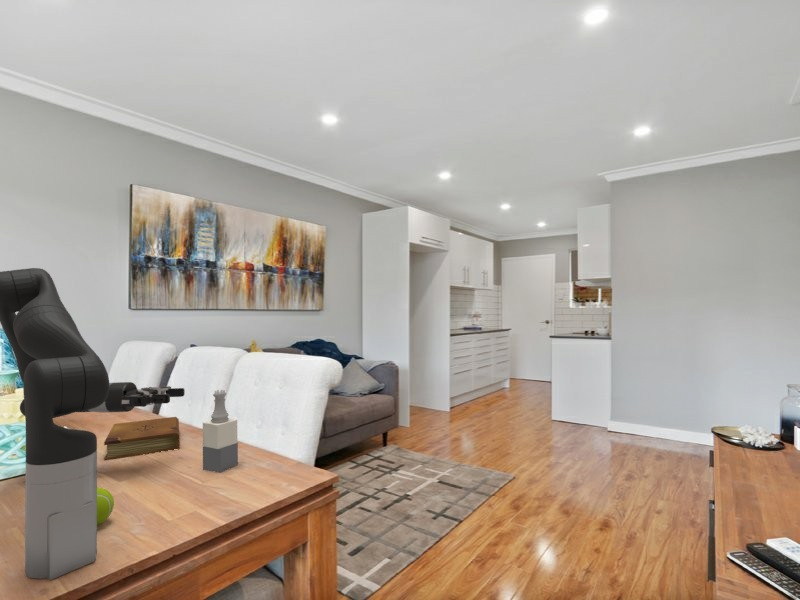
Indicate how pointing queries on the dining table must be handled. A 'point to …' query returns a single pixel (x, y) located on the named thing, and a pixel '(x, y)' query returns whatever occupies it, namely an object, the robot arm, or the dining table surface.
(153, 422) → the diary
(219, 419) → the rook chess piece
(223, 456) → the tower base
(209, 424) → the tower top
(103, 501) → the tennis ball
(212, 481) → the dining table surface
